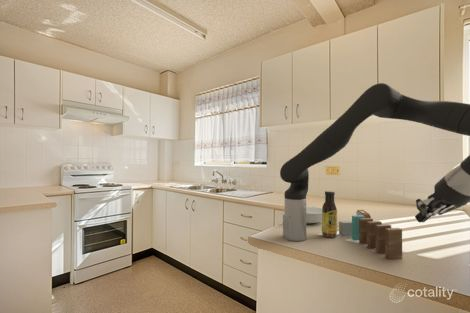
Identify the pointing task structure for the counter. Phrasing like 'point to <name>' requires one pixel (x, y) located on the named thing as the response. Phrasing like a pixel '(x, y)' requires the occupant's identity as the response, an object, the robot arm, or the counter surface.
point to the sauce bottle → (329, 215)
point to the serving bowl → (313, 214)
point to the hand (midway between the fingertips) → (418, 219)
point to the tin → (363, 213)
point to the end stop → (345, 228)
